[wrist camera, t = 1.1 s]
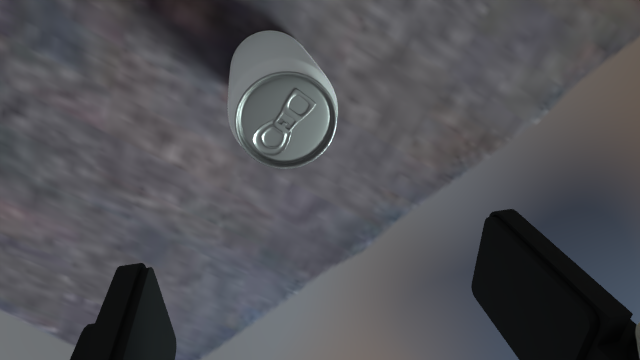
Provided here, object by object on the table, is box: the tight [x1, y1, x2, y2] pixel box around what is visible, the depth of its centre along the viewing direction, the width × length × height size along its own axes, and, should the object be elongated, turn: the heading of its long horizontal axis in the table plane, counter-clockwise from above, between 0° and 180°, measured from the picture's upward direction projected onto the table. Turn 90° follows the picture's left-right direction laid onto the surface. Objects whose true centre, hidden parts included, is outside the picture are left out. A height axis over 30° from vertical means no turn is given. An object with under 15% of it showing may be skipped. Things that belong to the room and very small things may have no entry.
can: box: [227, 30, 338, 169], centre depth 26 cm, size 6×6×12 cm
